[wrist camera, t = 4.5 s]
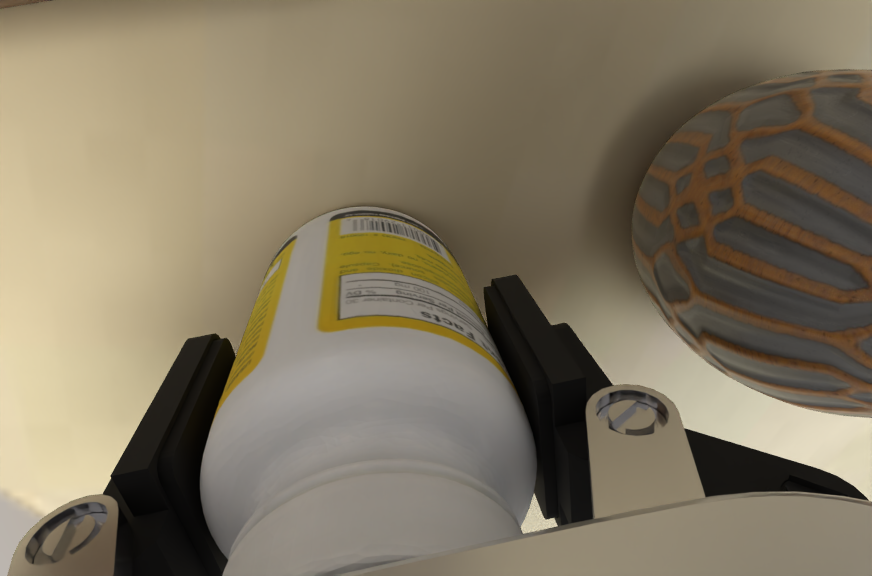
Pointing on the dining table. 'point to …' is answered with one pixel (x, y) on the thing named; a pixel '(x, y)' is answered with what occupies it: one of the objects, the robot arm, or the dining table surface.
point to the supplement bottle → (364, 409)
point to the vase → (769, 238)
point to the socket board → (17, 2)
